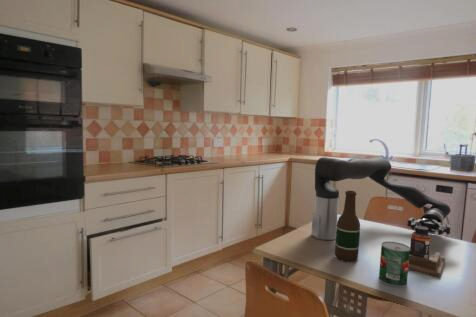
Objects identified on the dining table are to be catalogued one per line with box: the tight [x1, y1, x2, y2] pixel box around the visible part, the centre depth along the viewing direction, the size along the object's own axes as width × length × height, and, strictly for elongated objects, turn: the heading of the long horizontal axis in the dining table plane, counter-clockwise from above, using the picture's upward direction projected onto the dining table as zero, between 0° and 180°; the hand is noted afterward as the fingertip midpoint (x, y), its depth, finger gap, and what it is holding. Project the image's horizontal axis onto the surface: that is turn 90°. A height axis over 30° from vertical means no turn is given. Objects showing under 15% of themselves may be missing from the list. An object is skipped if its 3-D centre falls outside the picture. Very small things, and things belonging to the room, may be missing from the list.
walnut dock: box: [408, 251, 446, 279], centre depth 114 cm, size 16×14×4 cm
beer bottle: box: [334, 190, 361, 263], centre depth 116 cm, size 8×8×24 cm
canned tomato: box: [378, 241, 410, 288], centre depth 100 cm, size 8×8×11 cm
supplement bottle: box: [409, 226, 432, 259], centre depth 114 cm, size 6×6×11 cm
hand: (426, 229), depth 122 cm, fingers open, 8 cm apart
